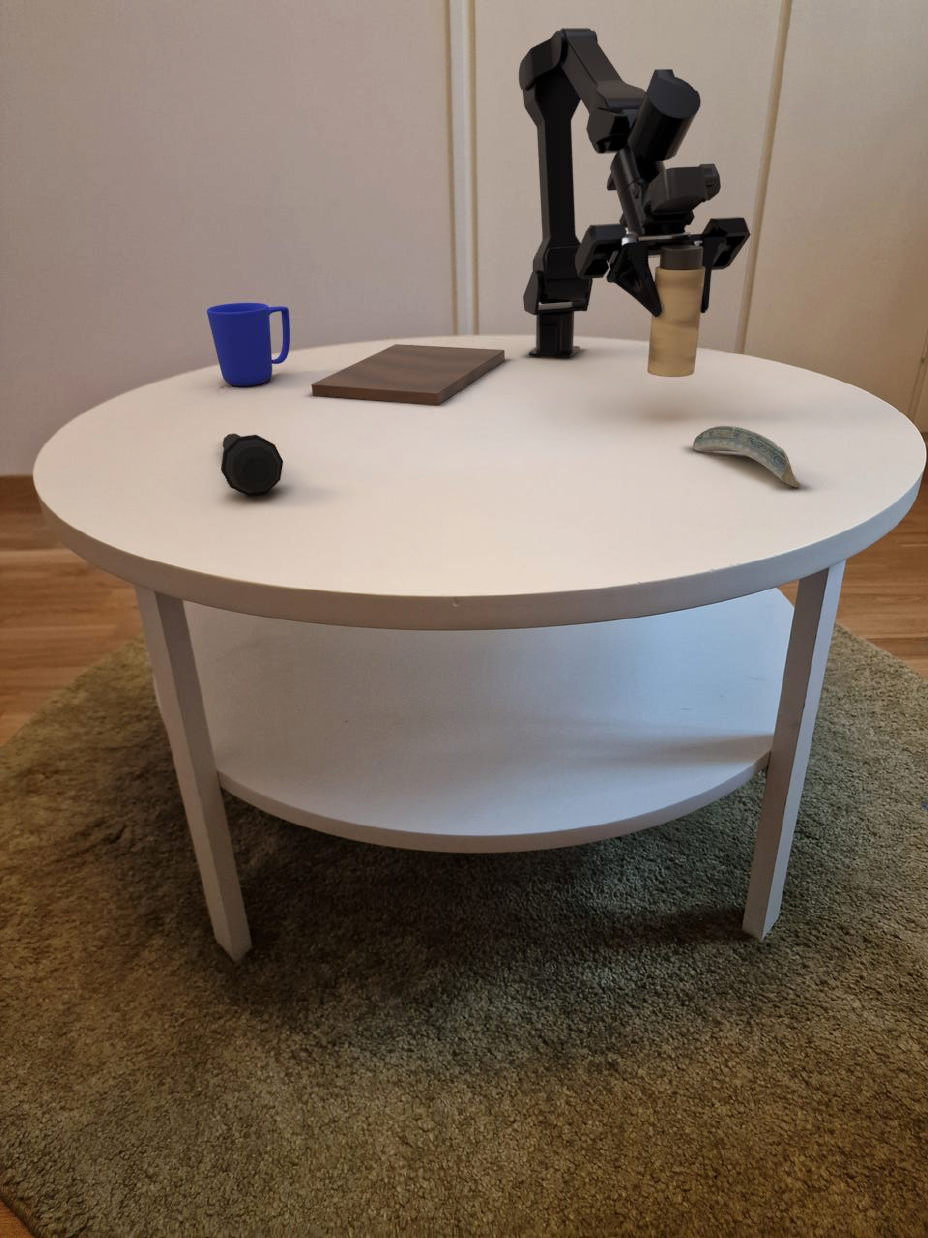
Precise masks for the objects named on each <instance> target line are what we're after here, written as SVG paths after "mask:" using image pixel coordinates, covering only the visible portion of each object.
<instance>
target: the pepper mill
mask: <svg viewBox="0 0 928 1238" xmlns="http://www.w3.org/2000/svg"><path fill="white" fill-rule="evenodd" d="M702 258H703V247H701V246H695V245H671V246H663V247H661V253H660V257H659V265H657V266H655V267H654V268H655V270H654V282H655V285H656V289H657V292H658V295H659V298H660V302H661V308H662V313H661V314H660V316H659V317H655V316H653V315H652V314H651V318H650V332H649V344H648V357H647V358H648V359H647V367H646V369H647V370H646V371H647V373H648V374H650V375H652V376H655V377H664V378H684V377H689V376H692V375H694V373H695V370H696V369H695V368H696V359H697V350H698V341H699V340H698V339H699V331H700V323H701V322H700V321H701V314H702V313H701V304H702V295H703V285H704V276H705V267H703V266H702Z"/></svg>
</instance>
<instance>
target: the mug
mask: <svg viewBox="0 0 928 1238" xmlns="http://www.w3.org/2000/svg"><path fill="white" fill-rule="evenodd" d="M277 312H280V313H281V325H282V326H281V327H282V345H281V352H280V354H279V355H278V357H277V358H275V359H273V357H272V338H271V323H270V316H271V315H272V314H273V313H277ZM206 315H207V317H208V323H209V327H210V332H211V335H212V339H213V344H214V347H215V352H216V355H217V356H216V357H217V360H218V364H219V369H220V373H221V376H222V378H223V380H224V382H225V383H227V384H229V385H232V386H237V387H248V386H257V385H261V384H265V383H266V382H269V380H271V378H272V375H273V365H279V364H280V365H281V364H282V363H285V361H286V360H287V358H288V357H289V356H288V355H289V353H290V347H291V346H290V345H291V326H290V325H291V324H290V323H291V322H290V320H291V319H290V310H289V307H288V306H279V305H278V306H269V305H268V304H266V303H261V302H232V303H225V304H224V303H223V304H217V305H214V306H211V307H208V308H207V309H206Z"/></svg>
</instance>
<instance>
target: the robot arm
mask: <svg viewBox="0 0 928 1238" xmlns="http://www.w3.org/2000/svg"><path fill="white" fill-rule="evenodd" d="M518 84H519V88H520V90H521V91H522V99H523V106H524V109H525V111H526V112H527V114H528V116H529V118H530V119H531V121H532V122H533V124H534V125H535V127H536V137H537V155H538V156H537V157H538V176H539V196H540V215H541V216H540V217H541V235H542V238H541V239H542V240H541V242H540V244H539V246H538V248H537V251H536V253H535V255H534V257H533V259H532V271H531V273H530V276H529V279H528V282H527V284H526V287H525V290H524V293H523V296H522V300H523V301H522V302H523V311H524V312H526V313H528V314H530V315H532V316H535V347H534V348H533V349H531V350H530V351H529V352H528V356H529V357H541V358H542V357H543V358H544V357H545V358H560V359H561V358H563V359H569V358H571V357H573V356H574V355H575V354H577V353H578V352H579V351H580V350H581V346H579V345H574V339H575V338H574V336H575V312H588V308H589V305H590V299H591V293H592V288H593V282H594V279H603V278H605V279H606V281H607V283H610V284H615V285H616V286H618V287H620V289H622V290H623V291H624V292H626V293H627V294H628V295H630V296H631V297H632V298H633V299H634V300H636V301H637V302H638V303H639V304H640V305H641V306H642V307H643V308H644V309H645V310H646V311H648V312H649V313H650V314H651V316H652V315H653V316H655V317H659V316H660V314H661V313H662V308H661V302H660V298H659V295H658V292H657V289H656V285H655V282H654V280H655V278H654V277H653V274H652V271H651V267H650V264H649V259H657V258H659V259H660V253H661V247H663V246H671V245H695V246H701V247H703V258H702V266H703V267H705V276H704V285H703V295H702V304H701V314H706V313H707V311H708V310H709V307H710V294H711V282H712V272H713V271H721V270H722V271H723V270H725V269H726V268H729V267H730V266H731V265H732V263H733V262H734V260H735V259H736V257H737V256H738V254H739V253H740V252H741V250H742V249H743V247H744V246H745V244H747V241H748V240H749V239H750V237H751V236H752V235H751V231H750V228H749V225H748V223H747V220H746V218H745V217H741V216H729V217H727V216H725V217H711V218H709V221H708V222H707V224H706V225H705V227H704V228H703V230H702V232H701V233H692V234H691V232H690V231H686V227H687V226H691V225H692V223H693V221H694V219H696V218H695V217H696V216H695V214H694V210H695V209H696V208H697V207H698V206H700V205H701V204H702V203H705V202H708V201H711V200H712V199H713V198H714V197H716V196H717V195H719V193H720V191H721V187H722V185H721V184H722V183H721V175H720V173H719V171H718V169H717V167H716V164H715V163H700V164H698V165H697V166H675V167H669V168H666V166H665V163H664V161H668V160H671V159H672V158H674V157H676V155H677V154H678V152H679V150H680V148H681V146H682V144H683V141H684V140H685V138H686V136H687V134H688V132H689V129H690V128H691V126H692V124H693V121H694V120H695V118H696V116H697V114H698V111H699V110H700V108H701V103H702V102H701V96H700V93H699V91H698V90H696V89H695V88H694V86H692V85H691V84H690V83H689V82H687V81H686V80H684V79H682V78H680V77H677V76H675V73H674V70H673V69H672V68H663V69H661V68H658V69H656V68H655V69H654V71H653V73H652V76H651V78H650V80H649V84H648V86H647V89H646V90H645V89H643V88H641V87H638V86H635V85H632V84H629V83H628V82H626V81H624V80H623V78H622V77H621V76H620V74H619V73H618V71H617V69H616V68H615V67H614V65H613V64H612V62H611V60H610V59H609V58H608V56H607V54H606V53H605V51H603V48H602V47H601V46H600V44H599V41H598V35H597V33H596V31H595V30H592V29H591V28H589V27H576V28H575V27H563V28H560V29H559V30H556V31H555V32H554V33H553V34H552V35H551V37H550V38H548V39H546V40H544V41H542V42H540V43H539V44H536V45H535V46H532V47H531V48H530V49H529V50H528V51H527V53H525V55H524V57H523V58H522V60H521V61H520V64H519V69H518ZM580 102H582V104H583V106H584V107H585V108H586V110H587V113H588V119H587V124H586V128H585V130H586V133H587V136H588V140H589V142H590V143H591V146H592V148H593V150H594V151H595V153H597V154H599V155H608V154H609V155H610V154H614V155H613V158H612V161H611V163H610V165H609V171H610V173H609V176H608V178H607V182H606V190H607V191H608V192H611V191H613V192H614V191H616V194H617V197H618V200H619V203H620V206H621V211H622V213H621V216H620V217H619V220H618V222H617V223H601V224H589V226H588V227H587V229H586V230H585V231H584V235H583V237H582V239H581V241H580V240H579V238H578V237H577V233H576V231H577V230H576V210H575V209H576V208H575V185H574V184H575V183H574V182H575V181H574V160H573V159H574V157H573V133H572V120H573V117H574V115H575V113H576V111H577V109H578V107H579V105H580ZM626 229H627V230H628V231H627V230H626Z"/></svg>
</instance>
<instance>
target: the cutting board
mask: <svg viewBox="0 0 928 1238" xmlns="http://www.w3.org/2000/svg"><path fill="white" fill-rule="evenodd" d="M505 351H506V350H505V349H495V348H494V349H493V348H477V347H476V348H475V347H456V346H455V347H454V346H439V345H438V346H436V345H420V344H398V343H396V344H392V345H391V346H389V347H387V348H384V349H383V350H381V351H379V352H376V353H374V354H372V355H370V356H368V357H365V358H363V359H361V360H360V361H358V362H356V363H355V362H354V363H353V364H351V365H349V366H347V367H345V368H343V369H341V370H338V371H336V372H334V373H332V374H329V375H328V376H326V377H324V378H322V379H320V380H318V381H315V382H313V383H312V384H311V391H312V392H311V393H312V396H314V397H315V396H317V397H325V398H326V397H327V398H340V399H341V398H342V399H356V400H364V401H365V400H366V401H379V402H393V403H406V404H418V405H430V406H431V405H432V406H433V405H434V406H439V405H440V404H442V403H443V402H445V401H446V400H448V399H449V398H451V397H453V395H455V394H457V393H458V392H459V391H461V390H462V389H464V388H465V387H467V386H468V385H470V384H471V383H473V382H474V381H476V380H478V379H479V378H480V377H482V376H483V375H485V374H486V373H488V372H489V371H491V370H492V369H494V368H495V367H496V366H498V365H499V364H501V363H502V362H504V361H505V358H506V357H505V355H506V354H505V353H506V352H505Z"/></svg>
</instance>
